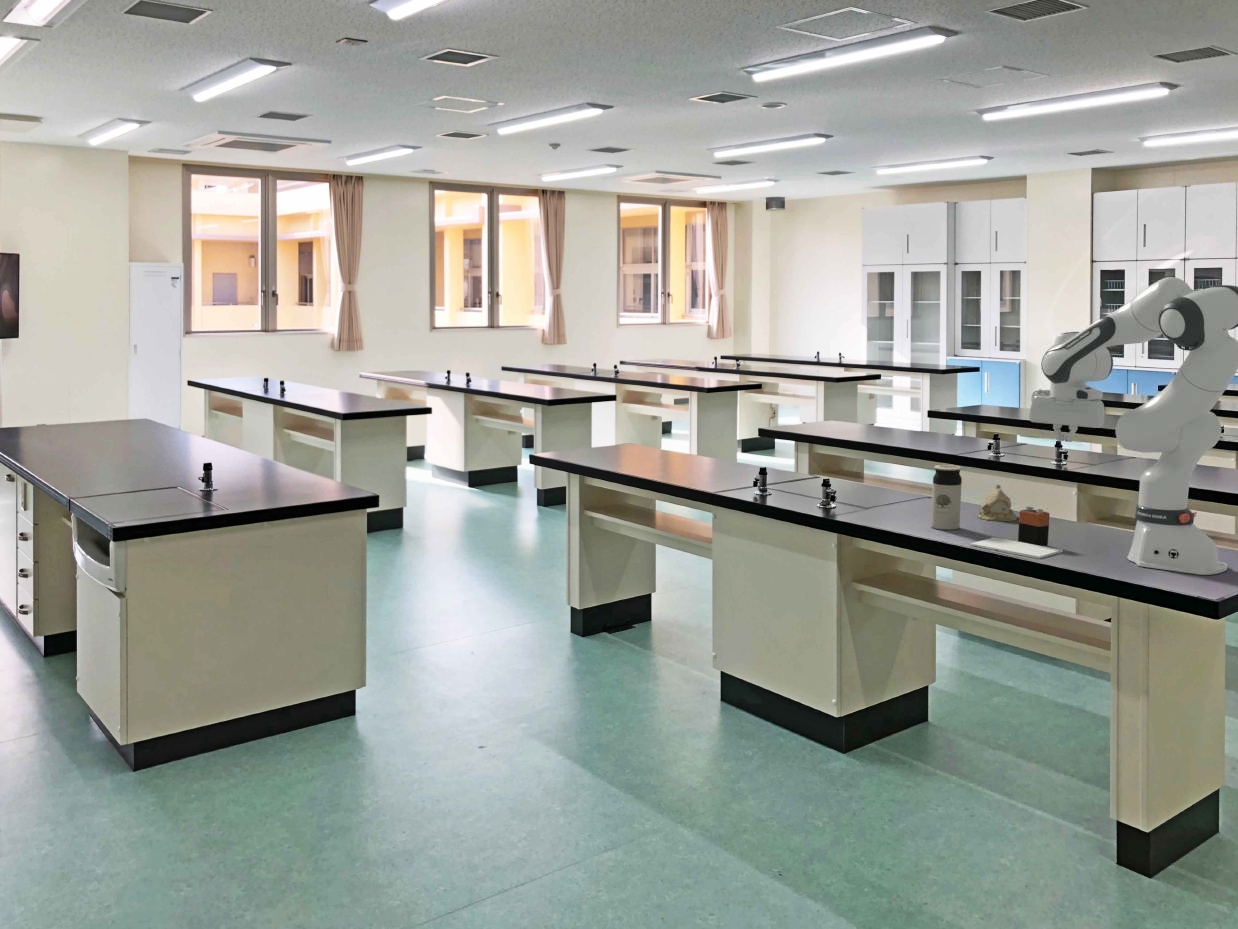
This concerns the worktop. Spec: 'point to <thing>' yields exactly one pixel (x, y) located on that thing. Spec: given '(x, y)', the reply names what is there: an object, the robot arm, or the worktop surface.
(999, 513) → the ceramic model
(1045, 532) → the battery
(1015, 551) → the bench mat
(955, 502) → the travel mug
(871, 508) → the worktop surface
